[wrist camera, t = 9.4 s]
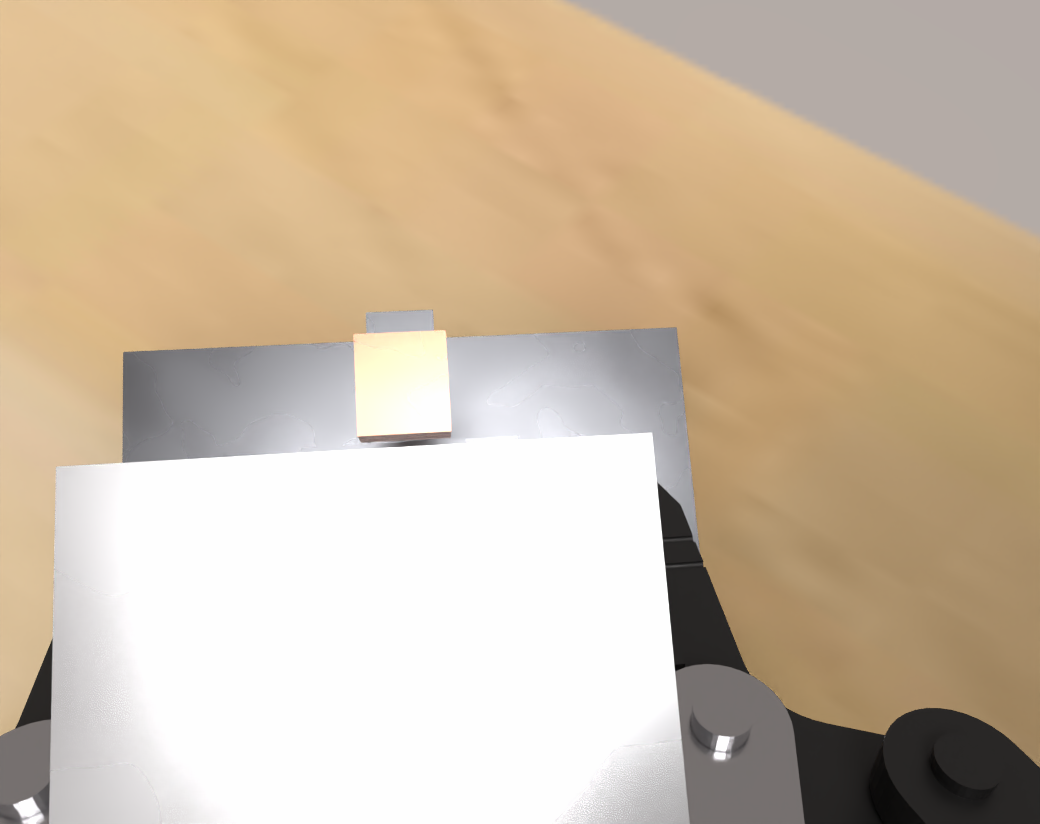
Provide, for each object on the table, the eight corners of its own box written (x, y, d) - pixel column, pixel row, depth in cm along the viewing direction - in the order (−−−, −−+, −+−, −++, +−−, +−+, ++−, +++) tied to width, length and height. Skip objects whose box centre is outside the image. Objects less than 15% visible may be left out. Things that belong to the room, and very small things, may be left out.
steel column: (520, 516, 17) (659, 426, 6) (535, 742, 16) (721, 1073, 6) (301, 531, 16) (48, 459, 6) (307, 763, 16) (33, 1163, 5)
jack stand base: (662, 341, 25) (774, 227, 16) (716, 879, 22) (878, 1060, 14) (143, 366, 23) (-20, 253, 15) (141, 942, 21) (-54, 1185, 13)
